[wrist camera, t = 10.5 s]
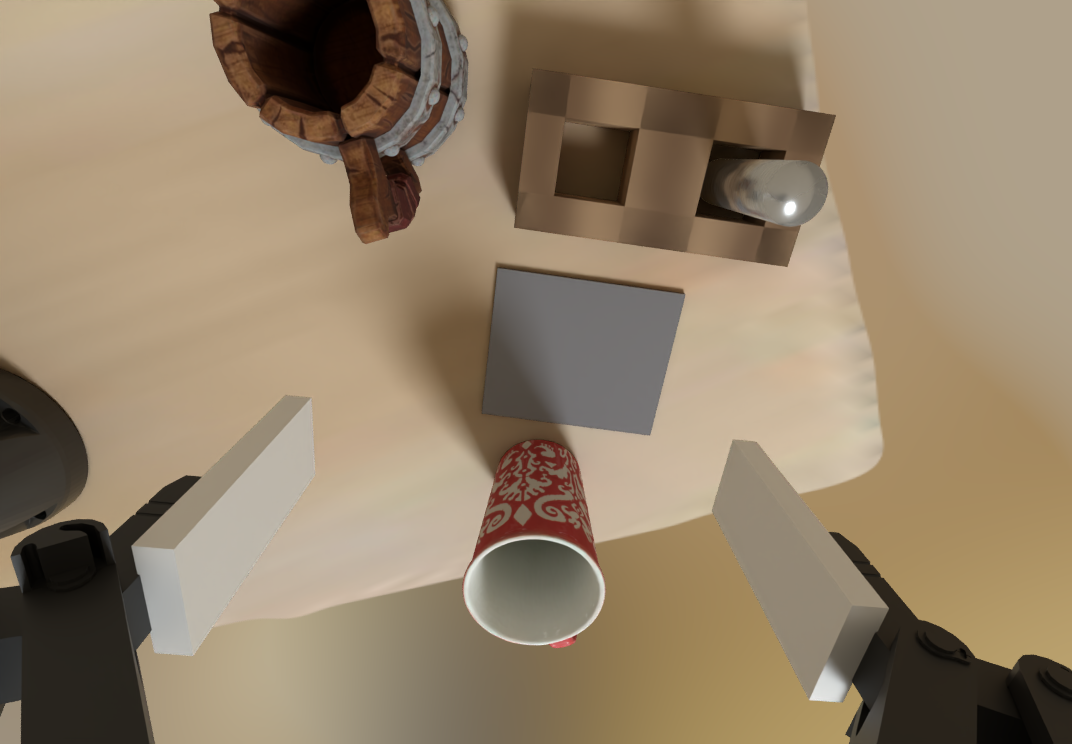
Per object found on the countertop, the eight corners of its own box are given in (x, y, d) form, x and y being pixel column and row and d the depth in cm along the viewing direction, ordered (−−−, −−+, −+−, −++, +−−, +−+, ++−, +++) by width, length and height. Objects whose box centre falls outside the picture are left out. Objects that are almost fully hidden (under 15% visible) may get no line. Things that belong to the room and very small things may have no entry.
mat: (482, 411, 43) (481, 413, 43) (498, 267, 39) (497, 268, 38) (649, 433, 44) (650, 435, 43) (684, 293, 39) (685, 294, 39)
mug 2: (472, 440, 44) (443, 551, 32) (577, 418, 43) (589, 524, 31) (511, 555, 49) (499, 693, 36) (607, 538, 48) (628, 672, 35)
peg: (692, 201, 37) (755, 221, 26) (703, 155, 35) (775, 155, 24) (733, 207, 37) (814, 230, 26) (746, 162, 36) (837, 166, 25)
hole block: (517, 220, 37) (514, 227, 34) (534, 78, 34) (532, 68, 30) (764, 256, 38) (787, 266, 34) (805, 119, 35) (835, 115, 31)
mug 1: (436, -85, 31) (377, -178, 18) (504, 165, 38) (496, 225, 25) (254, -24, 32) (79, -69, 19) (354, 206, 39) (275, 283, 27)
